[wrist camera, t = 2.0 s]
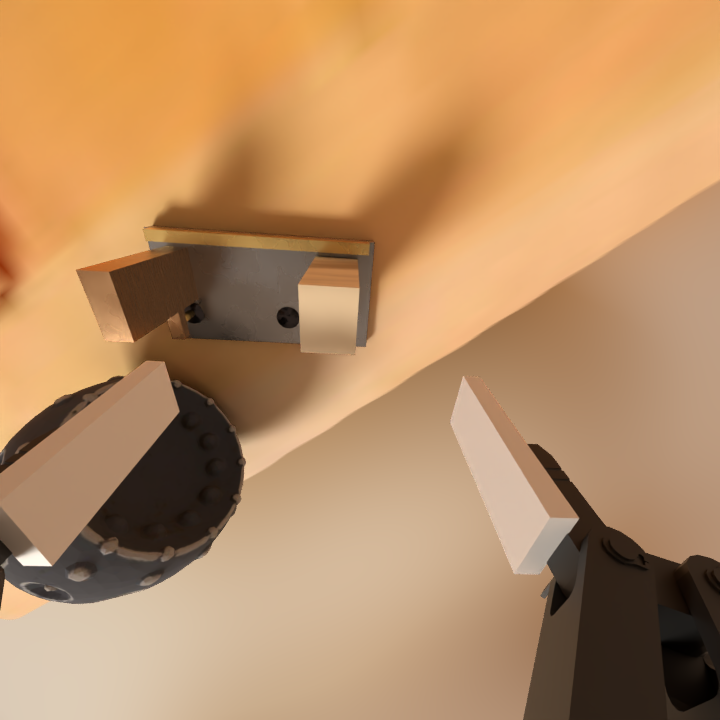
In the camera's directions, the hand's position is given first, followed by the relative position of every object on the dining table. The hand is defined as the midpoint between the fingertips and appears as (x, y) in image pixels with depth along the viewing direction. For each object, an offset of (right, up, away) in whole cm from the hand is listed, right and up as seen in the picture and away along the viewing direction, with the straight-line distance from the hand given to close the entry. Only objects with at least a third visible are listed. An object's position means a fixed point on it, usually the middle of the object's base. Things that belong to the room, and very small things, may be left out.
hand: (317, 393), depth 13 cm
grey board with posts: (-7, +9, +17) cm, 21 cm away
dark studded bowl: (-21, -5, +25) cm, 33 cm away
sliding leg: (-1, +8, +16) cm, 18 cm away
